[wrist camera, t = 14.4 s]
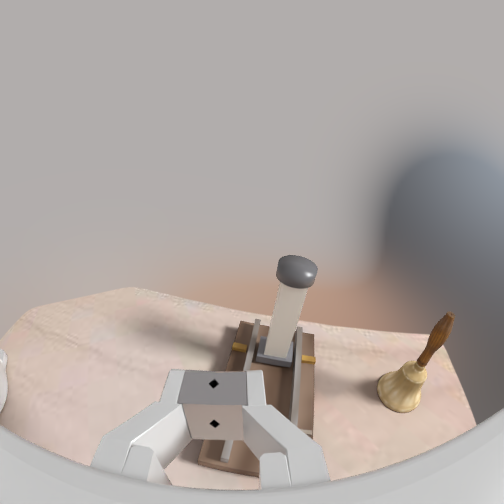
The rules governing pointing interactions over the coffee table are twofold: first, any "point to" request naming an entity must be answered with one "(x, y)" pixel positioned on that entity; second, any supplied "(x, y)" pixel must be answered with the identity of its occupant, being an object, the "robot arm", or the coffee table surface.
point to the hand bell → (413, 372)
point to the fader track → (267, 395)
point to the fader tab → (286, 309)
